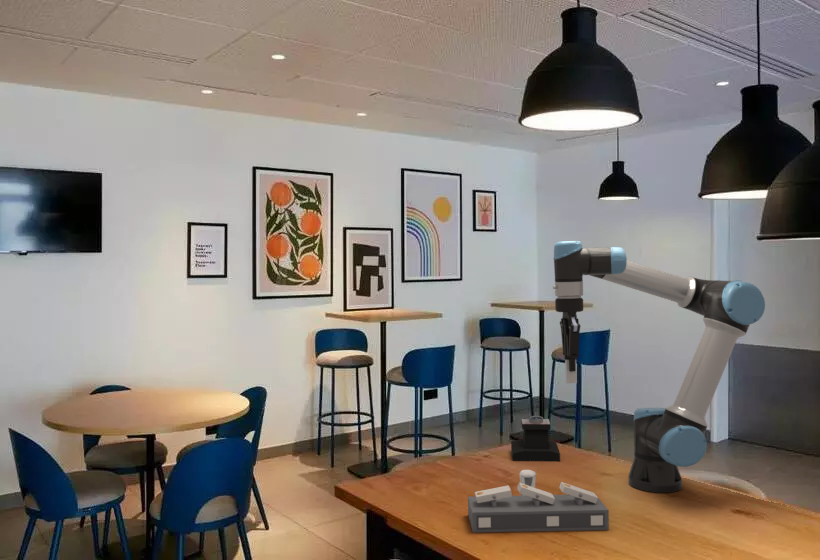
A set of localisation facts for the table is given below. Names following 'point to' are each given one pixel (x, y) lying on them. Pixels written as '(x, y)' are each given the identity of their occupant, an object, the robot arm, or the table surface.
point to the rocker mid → (535, 493)
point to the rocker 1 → (493, 494)
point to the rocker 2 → (578, 492)
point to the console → (537, 514)
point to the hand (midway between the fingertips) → (571, 382)
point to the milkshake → (528, 477)
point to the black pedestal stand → (535, 442)
